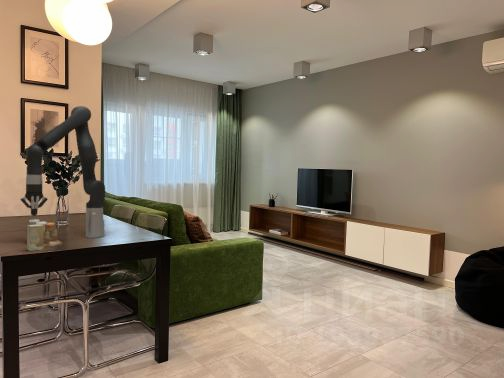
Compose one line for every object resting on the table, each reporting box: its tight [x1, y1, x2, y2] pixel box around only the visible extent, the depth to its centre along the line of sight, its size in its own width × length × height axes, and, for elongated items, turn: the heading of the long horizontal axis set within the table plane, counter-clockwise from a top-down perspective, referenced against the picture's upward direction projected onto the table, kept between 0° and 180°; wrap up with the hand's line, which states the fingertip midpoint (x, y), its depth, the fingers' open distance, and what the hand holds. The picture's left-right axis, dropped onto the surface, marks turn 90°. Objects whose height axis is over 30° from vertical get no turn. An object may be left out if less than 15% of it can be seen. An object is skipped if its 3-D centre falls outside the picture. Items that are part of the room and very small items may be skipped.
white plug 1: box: [28, 218, 40, 225], centre depth 198 cm, size 5×5×7 cm
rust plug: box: [45, 221, 55, 231], centre depth 199 cm, size 5×5×7 cm
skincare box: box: [26, 224, 44, 252], centre depth 183 cm, size 6×4×12 cm
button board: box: [25, 227, 63, 248], centre depth 197 cm, size 13×17×7 cm
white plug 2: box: [36, 220, 48, 232], centre depth 192 cm, size 5×5×7 cm
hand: (34, 215), depth 198 cm, fingers closed
